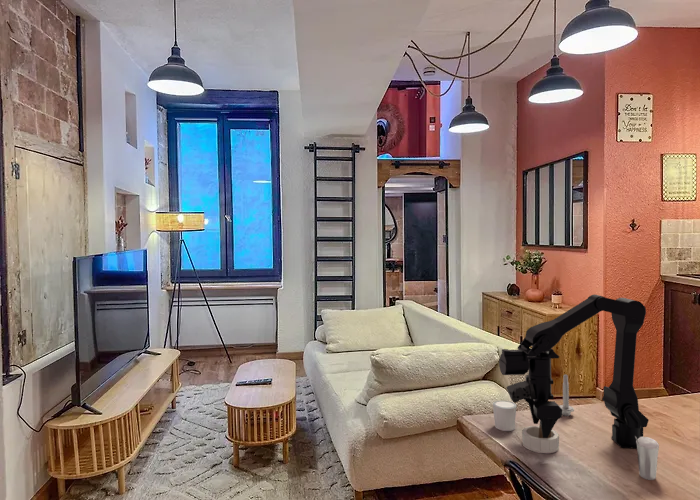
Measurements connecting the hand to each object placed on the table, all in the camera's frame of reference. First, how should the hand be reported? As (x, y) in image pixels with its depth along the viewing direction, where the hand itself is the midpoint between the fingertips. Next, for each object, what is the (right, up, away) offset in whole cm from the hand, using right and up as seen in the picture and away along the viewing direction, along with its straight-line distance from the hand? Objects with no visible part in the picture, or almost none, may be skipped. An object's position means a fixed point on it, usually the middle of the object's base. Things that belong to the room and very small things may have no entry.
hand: (540, 430), depth 129 cm
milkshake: (+18, -5, -17) cm, 25 cm away
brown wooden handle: (+1, -3, 0) cm, 4 cm away
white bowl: (0, -4, 0) cm, 4 cm away
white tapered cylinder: (-5, -4, +13) cm, 15 cm away
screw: (+17, -3, +21) cm, 27 cm away
